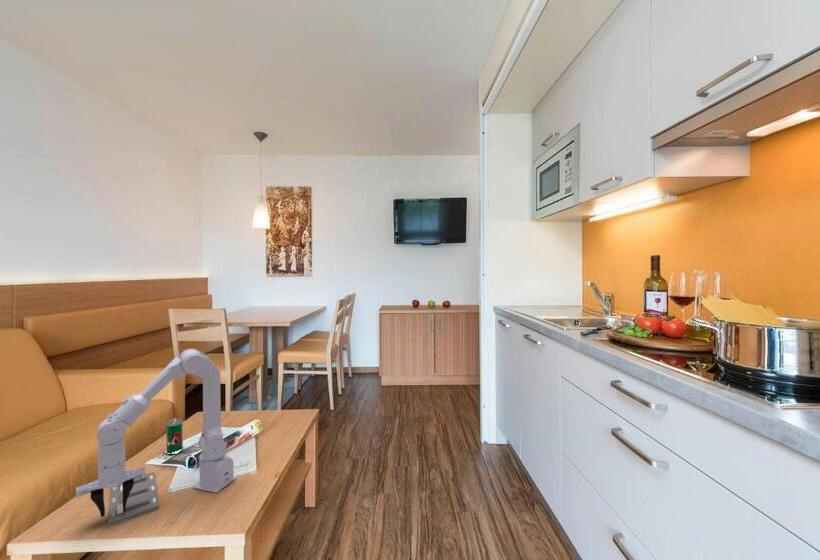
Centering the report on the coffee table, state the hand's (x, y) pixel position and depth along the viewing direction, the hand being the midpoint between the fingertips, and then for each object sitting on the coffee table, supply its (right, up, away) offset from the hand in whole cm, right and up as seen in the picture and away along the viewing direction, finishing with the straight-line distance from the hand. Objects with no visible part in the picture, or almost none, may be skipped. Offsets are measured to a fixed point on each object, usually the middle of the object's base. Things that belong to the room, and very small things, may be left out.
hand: (113, 511), depth 96 cm
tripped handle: (+1, -1, +1) cm, 2 cm away
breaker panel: (-1, -2, +9) cm, 9 cm away
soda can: (-7, -2, +35) cm, 36 cm away
